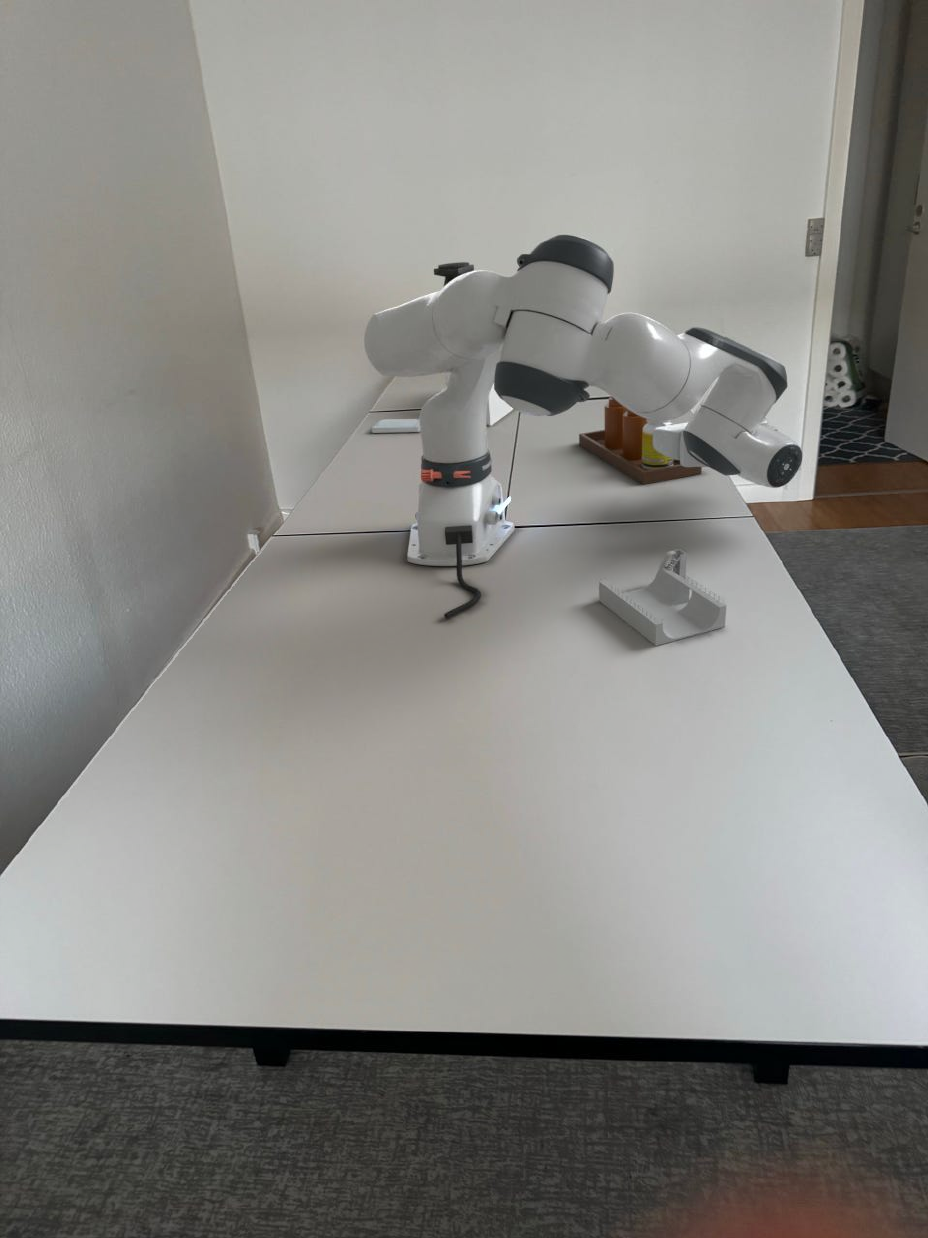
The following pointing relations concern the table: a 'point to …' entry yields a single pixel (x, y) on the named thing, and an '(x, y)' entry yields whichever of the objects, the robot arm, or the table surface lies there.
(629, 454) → the amber bottle middle
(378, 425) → the hard drive
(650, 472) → the tray
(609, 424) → the amber bottle far
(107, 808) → the table surface
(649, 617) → the grey plastic cradle
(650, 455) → the pill bottle
